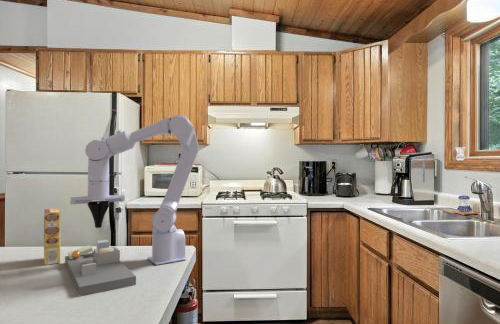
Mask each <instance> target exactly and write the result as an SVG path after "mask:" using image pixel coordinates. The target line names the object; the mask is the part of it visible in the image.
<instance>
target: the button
mask: <svg viewBox="0 0 500 324" xmlns="http://www.w3.org/2000/svg"><path fill="white" fill-rule="evenodd" d="M110 251H114V248H102V249H100V250H99V253H103V252H110Z"/></svg>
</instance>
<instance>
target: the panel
mask: <svg viewBox="0 0 500 324" xmlns="http://www.w3.org/2000/svg"><path fill="white" fill-rule="evenodd" d="M108 248H114V251H110V252H103V253H99V250H100V249H97V248H96V249H93V251H91V252H89V253H86V254H84V255H81V257H82V259H83V260H84V261H85V262H86V263H87V264H85V265H81V264H80V263H79V261H78V260H77V259H70V258H69V256H68V255H66V256H64V264H65V266H66V269H67V270H68V273H69V275H70V278H71V280H72V283H73V285H74V287H75V289H76V291H77V294H78V296H79V297H81V296H82V297H83V296H88V295H92V294H97V293H102V292H103V293H104V292H108V291H112V290H116V289H122V288H126V287H131V286H136V285H137V276H136V275H135V274H134V273H133V272H132V271H131V270H130V269H129V268H128V267H127V266H126V265H125V264H124V263H123V262H121V259H120V257H121V254H120V253H121V251H120V249H119V248H118V247H116V246H109V247H108ZM101 249H102V248H101Z"/></svg>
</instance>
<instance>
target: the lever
mask: <svg viewBox="0 0 500 324" xmlns="http://www.w3.org/2000/svg"><path fill="white" fill-rule="evenodd" d="M73 251H74V250H73ZM72 258H73V259H77V260H78V261H79V263H80V264H81V265H85V264H87V263H86V262H85V261H84V260H83V259H82V257H81V253H80V252H79V251H74V252H73V253H72Z"/></svg>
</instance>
